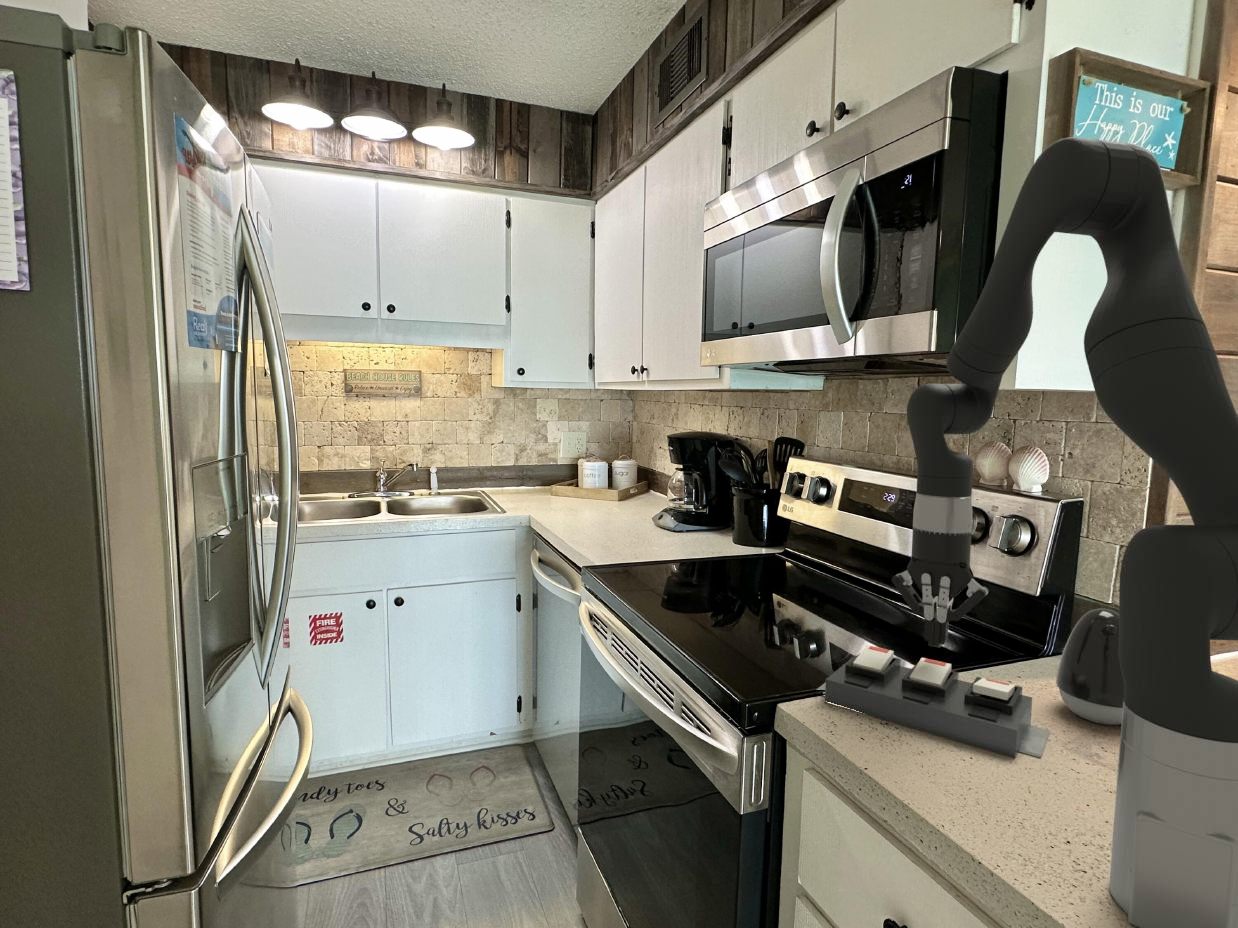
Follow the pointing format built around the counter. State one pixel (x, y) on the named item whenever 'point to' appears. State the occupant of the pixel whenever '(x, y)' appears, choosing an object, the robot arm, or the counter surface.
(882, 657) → the rocker
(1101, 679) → the pump dispenser
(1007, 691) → the rocker
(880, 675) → the rocker switch box
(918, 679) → the middle rocker
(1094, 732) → the counter surface
